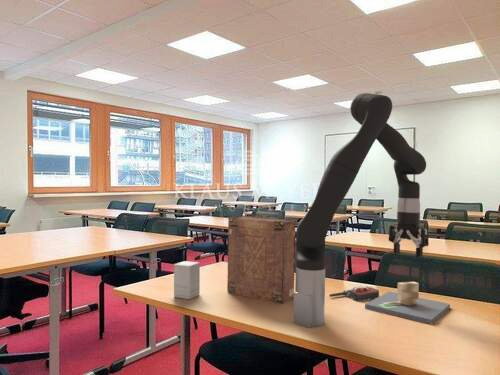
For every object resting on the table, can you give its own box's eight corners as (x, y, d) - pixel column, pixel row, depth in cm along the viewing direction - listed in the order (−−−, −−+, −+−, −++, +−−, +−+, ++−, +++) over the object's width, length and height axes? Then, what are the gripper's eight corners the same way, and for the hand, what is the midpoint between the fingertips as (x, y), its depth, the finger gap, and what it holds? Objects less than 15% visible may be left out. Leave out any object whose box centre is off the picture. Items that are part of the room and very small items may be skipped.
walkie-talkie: (366, 292, 154) (327, 298, 144) (366, 281, 154) (327, 287, 144) (382, 298, 146) (343, 305, 137) (382, 286, 146) (343, 293, 137)
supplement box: (200, 294, 145) (200, 262, 145) (189, 299, 139) (189, 266, 138) (184, 292, 148) (184, 260, 148) (173, 297, 142) (173, 263, 142)
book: (226, 292, 150) (227, 217, 149) (239, 286, 157) (241, 215, 157) (282, 303, 136) (284, 221, 135) (294, 297, 143) (295, 219, 143)
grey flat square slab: (431, 324, 118) (431, 319, 118) (364, 308, 132) (365, 303, 132) (449, 308, 134) (450, 303, 134) (389, 295, 149) (389, 291, 149)
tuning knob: (410, 299, 137) (410, 280, 137) (422, 304, 131) (422, 284, 131) (378, 302, 133) (378, 282, 133) (389, 307, 127) (389, 286, 127)
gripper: (433, 212, 129) (432, 258, 130) (397, 209, 141) (396, 252, 142) (420, 212, 125) (419, 260, 125) (384, 209, 137) (383, 253, 137)
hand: (407, 256), depth 133 cm, fingers open, 8 cm apart
